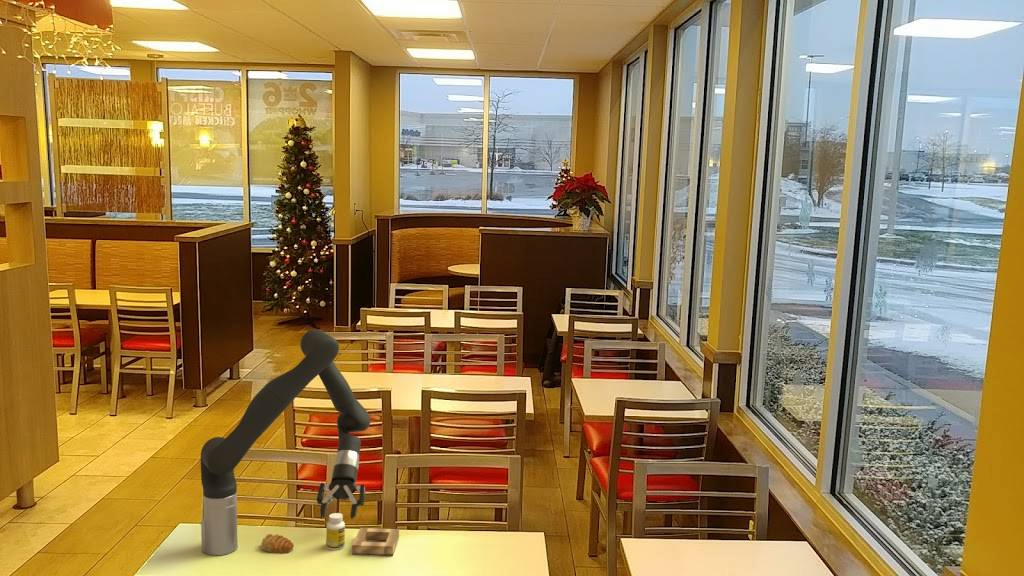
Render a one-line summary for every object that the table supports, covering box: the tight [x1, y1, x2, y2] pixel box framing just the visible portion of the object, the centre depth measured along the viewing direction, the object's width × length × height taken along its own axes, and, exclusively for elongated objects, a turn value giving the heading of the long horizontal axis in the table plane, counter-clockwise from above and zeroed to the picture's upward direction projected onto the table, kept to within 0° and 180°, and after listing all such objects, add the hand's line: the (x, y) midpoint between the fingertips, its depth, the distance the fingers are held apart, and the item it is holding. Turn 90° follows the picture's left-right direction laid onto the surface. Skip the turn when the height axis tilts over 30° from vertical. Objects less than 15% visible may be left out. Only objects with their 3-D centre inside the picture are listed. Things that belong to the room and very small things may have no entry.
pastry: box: [260, 533, 295, 554], centre depth 238 cm, size 9×7×4 cm
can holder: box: [351, 527, 400, 557], centre depth 241 cm, size 12×12×3 cm
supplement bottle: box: [325, 512, 346, 551], centre depth 240 cm, size 5×5×10 cm
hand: (337, 517), depth 242 cm, fingers open, 8 cm apart
